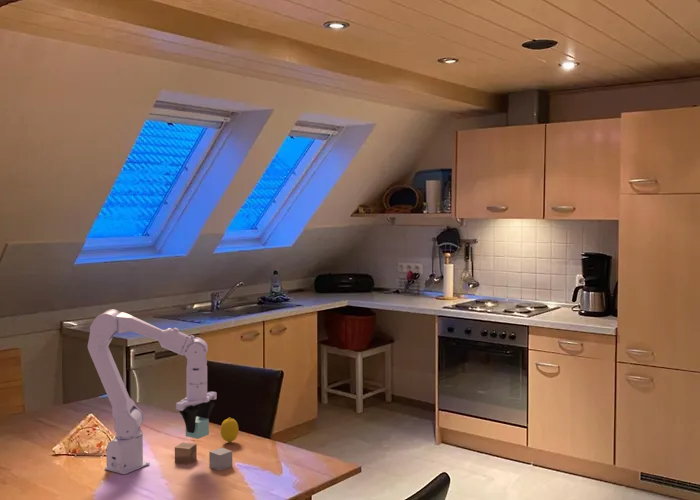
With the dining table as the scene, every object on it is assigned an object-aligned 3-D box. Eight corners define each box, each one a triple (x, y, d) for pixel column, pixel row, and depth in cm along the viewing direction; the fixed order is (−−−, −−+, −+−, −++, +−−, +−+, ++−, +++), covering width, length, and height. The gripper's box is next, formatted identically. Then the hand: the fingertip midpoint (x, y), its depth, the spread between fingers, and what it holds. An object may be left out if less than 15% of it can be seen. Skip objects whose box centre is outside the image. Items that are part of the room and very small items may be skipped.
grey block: (219, 471, 192) (219, 455, 192) (209, 467, 195) (209, 451, 194) (232, 466, 195) (232, 451, 195) (222, 463, 198) (222, 447, 198)
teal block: (197, 438, 193) (197, 422, 193) (185, 436, 195) (185, 420, 195) (208, 434, 197) (208, 418, 197) (196, 431, 199) (196, 416, 199)
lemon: (234, 446, 212) (234, 420, 211) (217, 445, 213) (217, 419, 213) (241, 440, 217) (241, 415, 217) (224, 439, 218) (224, 414, 218)
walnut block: (189, 464, 197) (189, 448, 196) (174, 462, 198) (174, 447, 198) (196, 459, 201) (196, 443, 201) (182, 457, 202) (182, 442, 202)
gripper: (189, 389, 187) (189, 439, 188) (224, 378, 200) (224, 425, 200) (170, 386, 191) (170, 434, 191) (206, 375, 203) (206, 421, 204)
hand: (197, 429), depth 196 cm, fingers closed on teal block, 4 cm apart
